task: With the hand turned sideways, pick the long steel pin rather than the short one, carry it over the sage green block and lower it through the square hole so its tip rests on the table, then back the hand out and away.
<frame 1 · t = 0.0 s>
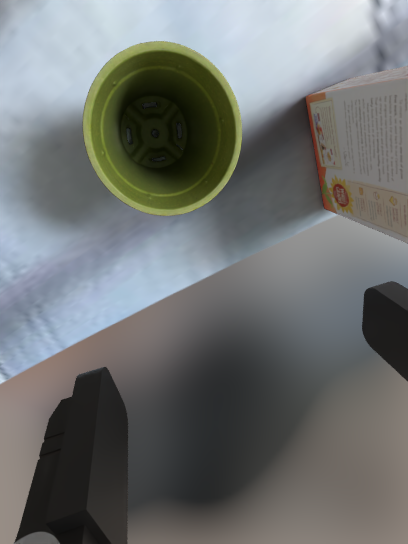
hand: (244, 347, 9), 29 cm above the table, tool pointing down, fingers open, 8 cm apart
cracker box: (334, 147, 38), on the table
plant pot: (156, 133, 33), on the table
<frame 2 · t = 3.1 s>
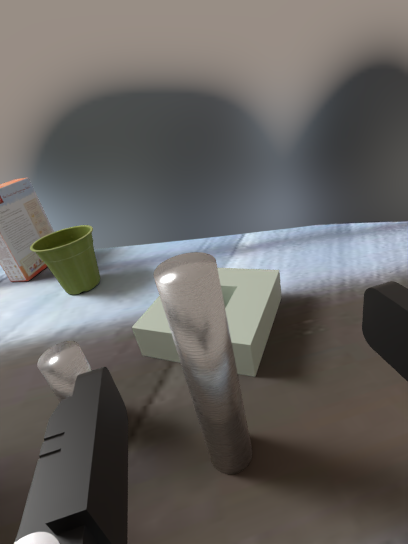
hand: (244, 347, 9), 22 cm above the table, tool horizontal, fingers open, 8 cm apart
short steel pin: (95, 419, 35), on the table
long steel pin: (230, 451, 29), on the table
hole block: (216, 324, 45), on the table
cracker box: (39, 268, 78), on the table
plant pot: (83, 286, 65), on the table
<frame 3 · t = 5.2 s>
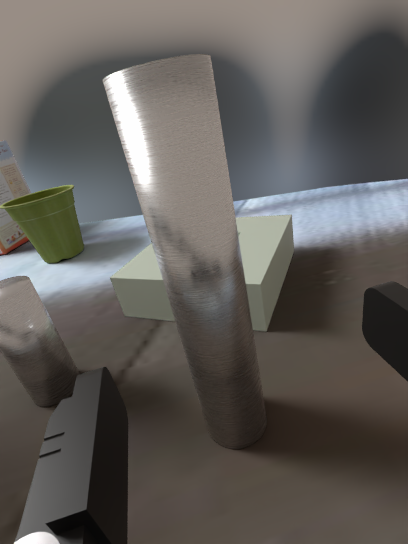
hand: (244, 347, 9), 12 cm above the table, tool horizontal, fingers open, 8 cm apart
short steel pin: (57, 386, 27), on the table
long steel pin: (236, 419, 21), on the table
hole block: (215, 281, 37), on the table
cracker box: (19, 243, 70), on the table
plant pot: (65, 255, 57), on the table
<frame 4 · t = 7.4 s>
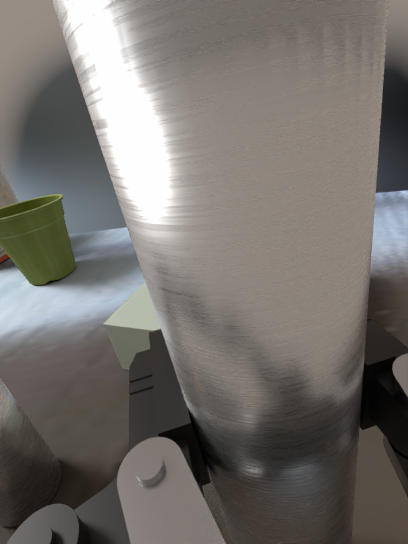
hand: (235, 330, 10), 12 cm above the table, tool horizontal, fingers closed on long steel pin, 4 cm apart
short steel pin: (29, 488, 19), on the table
hole block: (236, 320, 30), on the table
cracker box: (4, 257, 63), on the table
plant pot: (54, 275, 49), on the table
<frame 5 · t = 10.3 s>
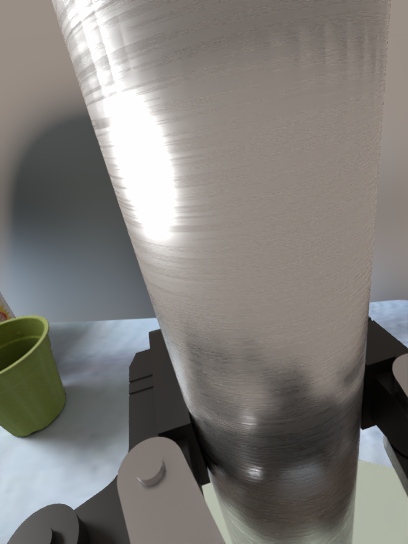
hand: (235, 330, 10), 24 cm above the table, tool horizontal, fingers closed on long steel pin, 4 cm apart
plant pot: (39, 411, 40), on the table
when the fingers open (13 cm above the table, at t = 13.4 s): long steel pin drops 1 cm, resting in hole block.
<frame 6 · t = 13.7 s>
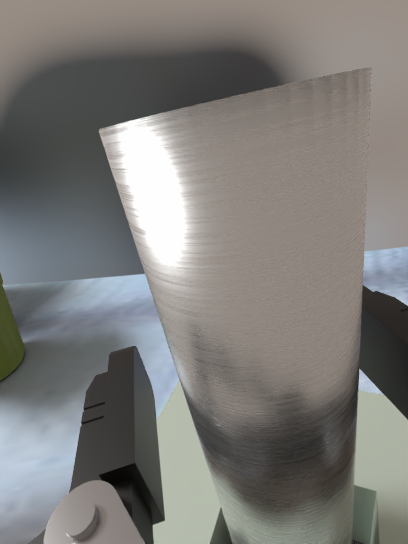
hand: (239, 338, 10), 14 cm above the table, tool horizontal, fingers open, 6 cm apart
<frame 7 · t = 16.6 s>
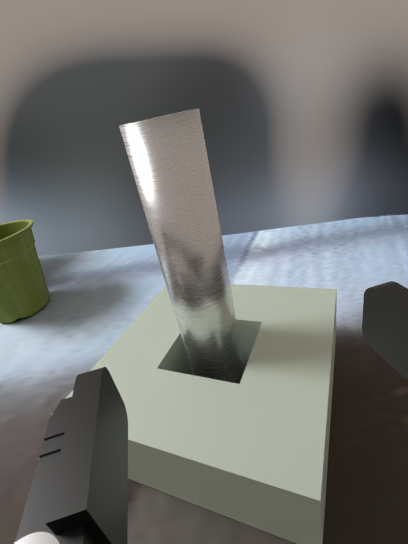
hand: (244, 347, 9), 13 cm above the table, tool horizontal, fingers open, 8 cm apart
long steel pin: (224, 392, 25), resting in hole block
hole block: (223, 391, 25), on the table
plant pot: (25, 309, 44), on the table
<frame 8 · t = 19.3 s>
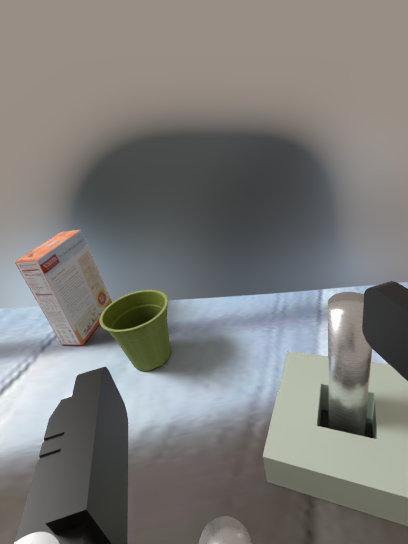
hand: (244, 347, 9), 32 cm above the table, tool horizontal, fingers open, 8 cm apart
long steel pin: (346, 436, 38), resting in hole block
hole block: (345, 435, 38), on the table
cracker box: (89, 325, 71), on the table
plant pot: (152, 357, 57), on the table
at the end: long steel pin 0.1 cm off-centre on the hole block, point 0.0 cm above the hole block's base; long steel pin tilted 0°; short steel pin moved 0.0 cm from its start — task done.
